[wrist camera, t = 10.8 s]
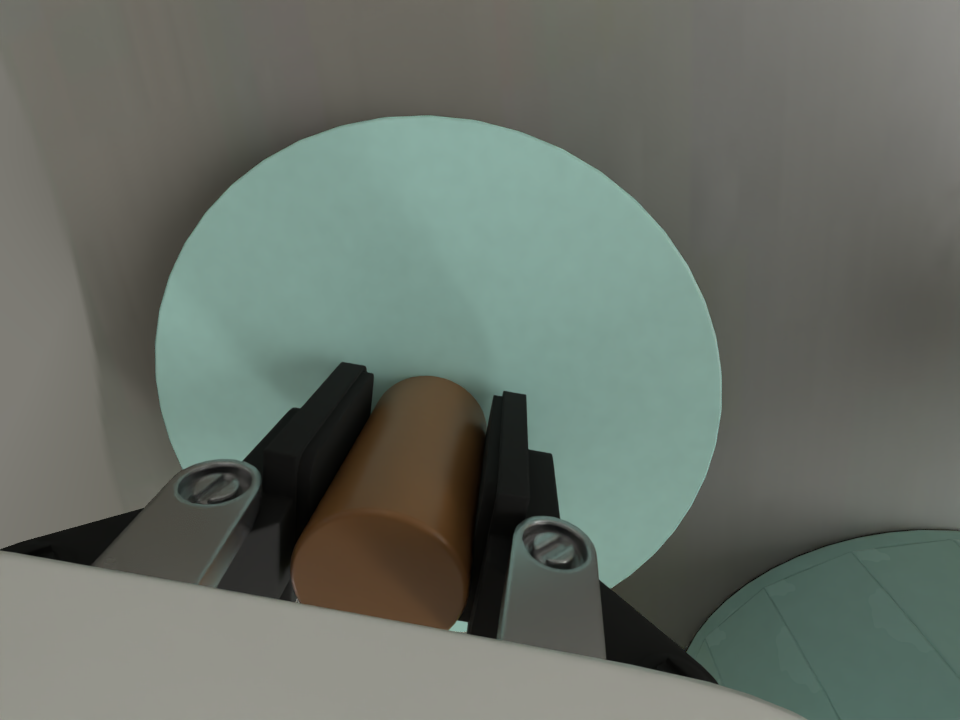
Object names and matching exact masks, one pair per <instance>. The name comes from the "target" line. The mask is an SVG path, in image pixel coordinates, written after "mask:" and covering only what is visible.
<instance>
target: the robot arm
mask: <svg viewBox="0 0 960 720" xmlns="http://www.w3.org/2000/svg"><path fill="white" fill-rule="evenodd" d="M373 383H374V374H373V373H369V372H367V368H366V366H364V365H358V364H352V363H347V362H341V363H340V364H339V365H338V366H337V368H336V369H335V370H334V371H333V372H332V373H331V374H330V375H329V377H328V378H327V379H326V380H325V381H324V382H323V383H322V385H321V386H320V387H319V388H318V389H317V390H316V391H315V392H314V394H313V395H312V396H311V397H310V398H309V399H308V400H307V402H306V403H305V404H304V405H303V406H302V407H301V408H296V407H293V408H291V409H290V410H289V411H288V412H287V413H286V414H285V415H284V416H283V417H282V418H281V420H280V421H279V422H278V423H277V424H276V425H275V426H274V427H273V428H272V429H271V430H270V431H269V433H268V434H267V435H266V436H265V437H264V438H263V439H262V440H261V441H260V442H259V443H258V445H257V446H256V447H255V448H254V449H253V450H252V451H251V452H250V453H249V454H248V455H247V456H246V458H245V459H244V460H243V461H239V460H235V459H216V460H208V461H204V462H201V463H197V464H194V465H192V466H189V467H187V468H185V469H183V470H181V471H180V472H179V473H178V474H176V475H175V476H174V477H173V478H172V479H171V480H170V481H169V482H168V483H167V484H166V485H165V486H164V487H163V488H162V489H161V491H160V492H159V493H158V494H157V495H156V496H155V497H154V498H153V499H152V500H151V501H150V502H149V503H148V505H147V506H146V507H145V508H142V509H139V510H135V511H132V512H128V513H124V514H121V515H118V516H114V517H110V518H106V519H103V520H100V521H96V522H92V523H88V524H85V525H81V526H78V527H74V528H70V529H66V530H63V531H59V532H56V533H52V534H49V535H45V536H41V537H37V538H34V539H31V540H27V541H23V542H20V543H17V544H15V545H11V546H8V547H6V548H3V549H0V720H808V719H806V718H804V717H802V716H800V715H798V714H796V713H794V712H793V711H790V710H788V709H785V708H783V707H780V706H778V705H775V704H773V703H770V702H768V701H765V700H763V699H760V698H758V697H755V696H753V695H750V694H747V693H744V692H741V691H737V690H734V689H731V688H727V687H724V686H721V685H719V684H718V683H717V681H716V680H715V678H714V677H713V676H712V675H711V674H710V673H709V672H708V671H707V670H706V669H705V668H704V667H703V666H702V665H701V664H700V663H698V662H697V661H696V660H695V659H694V658H692V657H691V656H690V655H689V654H688V653H686V652H685V651H684V650H683V649H682V648H680V647H679V646H678V645H677V644H676V643H674V642H673V641H672V640H671V639H670V638H668V637H667V636H666V635H665V634H664V633H662V632H661V631H660V630H659V629H658V628H656V627H655V626H654V625H653V624H652V623H650V622H649V621H648V620H647V619H646V618H645V617H643V616H642V615H641V614H640V613H639V612H637V611H636V610H635V609H634V608H633V607H631V606H630V605H629V604H628V603H627V602H625V601H624V600H623V599H622V598H621V597H619V596H618V595H617V594H616V593H615V592H613V591H612V590H611V589H610V588H609V587H607V586H606V585H605V584H604V583H603V582H601V581H600V580H599V573H598V562H597V553H596V550H595V546H594V544H593V543H592V541H591V540H590V538H589V537H588V535H586V534H585V533H584V532H583V531H582V530H581V529H580V528H578V527H577V526H575V525H573V524H571V523H569V522H568V521H565V520H562V519H560V512H559V504H558V496H557V487H556V479H555V470H554V462H553V456H552V454H551V453H546V452H541V451H535V450H530V449H528V427H527V400H526V395H525V394H520V393H514V392H509V391H503V394H502V396H497V395H494V396H493V400H492V405H491V410H490V415H489V421H488V426H487V431H486V437H485V445H484V454H483V462H482V471H481V479H480V488H479V496H478V505H477V514H476V522H475V531H474V539H473V548H472V554H473V560H472V569H471V578H470V587H469V596H468V600H467V603H466V607H465V609H464V611H463V613H462V614H461V616H460V617H459V619H458V621H463V622H468V625H467V634H465V633H460V632H454V631H449V630H444V629H438V628H433V627H427V626H422V625H417V624H411V623H406V622H400V621H395V620H389V619H384V618H378V617H373V616H367V615H362V614H356V613H351V612H345V611H340V610H334V609H329V608H323V607H318V606H312V605H307V604H301V603H296V602H295V601H296V599H297V597H296V594H295V592H294V589H293V586H292V582H291V574H290V563H291V556H292V552H293V549H294V546H295V545H296V543H297V541H298V539H299V537H300V535H301V533H302V532H303V530H304V528H305V527H306V525H307V523H308V521H309V520H310V518H311V516H312V515H313V513H314V511H315V509H316V508H317V506H318V504H319V503H320V501H321V499H322V497H323V496H324V494H325V492H326V490H327V489H328V487H329V485H330V484H331V482H332V480H333V478H334V477H335V475H336V473H337V472H338V470H339V468H340V466H341V465H342V463H343V461H344V459H345V458H346V456H347V454H348V453H349V451H350V449H351V447H352V446H353V444H354V442H355V441H356V439H357V437H358V435H359V434H360V432H361V430H362V429H363V427H364V425H365V423H366V422H367V420H368V418H369V416H370V415H371V405H372V394H373Z"/></svg>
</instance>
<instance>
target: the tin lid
mask: <svg viewBox="0 0 960 720" xmlns="http://www.w3.org/2000/svg"><path fill="white" fill-rule="evenodd" d="M341 362H347V363H352V364H358V365H364V366H366V368H367V372H369V373H373V374H374V383H373V394H372V405H371V415H370V416H369V418H368V420H367V422H366V423H365V425H364V427H363V429H362V430H361V432H360V434H359V435H358V437H357V439H356V441H355V442H354V444H353V446H352V447H351V449H350V451H349V453H348V454H347V456H346V458H345V459H344V461H343V463H342V465H341V466H340V468H339V470H338V472H337V473H336V475H335V477H334V478H333V480H332V482H331V484H330V485H329V487H328V489H327V490H326V492H325V494H324V496H323V497H322V499H321V501H320V503H319V504H318V506H317V508H316V509H315V511H314V513H313V515H312V516H311V518H310V520H309V521H308V523H307V525H306V527H305V528H304V530H303V532H302V533H301V535H300V537H299V539H298V541H297V543H296V545H295V546H294V549H293V552H292V556H291V563H290V574H291V582H292V586H293V589H294V592H295V594H296V597H297V598H298V600H299V602H300V603H301V604H307V605H312V606H318V607H323V608H329V609H334V610H340V611H345V612H351V613H356V614H362V615H367V616H373V617H378V618H384V619H389V620H395V621H400V622H406V623H411V624H417V625H422V626H427V627H433V628H438V629H444V630H449V631H454V632H466V631H467V625H468V622H463V621H458V619H459V617H460V616H461V614H462V613H463V611H464V609H465V607H466V603H467V600H468V596H469V587H470V578H471V569H472V560H473V554H472V548H473V539H474V531H475V522H476V514H477V505H478V496H479V488H480V479H481V471H482V462H483V454H484V445H485V437H486V431H487V426H488V421H489V415H490V410H491V405H492V400H493V396H494V395H497V396H502V394H503V391H509V392H514V393H520V394H525V395H526V400H527V427H528V449H530V450H535V451H541V452H546V453H551V454H552V456H553V462H554V470H555V479H556V487H557V496H558V504H559V512H560V519H562V520H565V521H568V522H569V523H571V524H573V525H575V526H577V527H578V528H580V529H581V530H582V531H583V532H584V533H585V534H586V535H588V537H589V538H590V540H591V541H592V543H593V544H594V546H595V550H596V553H597V562H598V573H599V580H600V581H601V582H603V583H604V584H605V585H606V586H607V587H609V588H610V589H611V588H612V587H614V586H615V585H617V584H618V583H620V582H621V581H622V580H624V579H625V578H627V577H628V576H630V575H631V574H632V573H633V572H635V571H636V570H637V569H638V568H639V567H640V566H641V565H643V564H644V563H645V562H646V561H647V560H648V559H649V558H650V557H652V556H653V555H654V554H655V553H656V552H657V550H658V549H659V548H660V547H661V546H662V545H663V544H664V542H665V541H666V540H667V539H668V538H669V537H670V536H671V535H672V533H673V532H674V531H675V530H676V528H677V527H678V525H679V524H680V522H681V521H682V519H683V518H684V516H685V515H686V513H687V512H688V510H689V509H690V507H691V506H692V504H693V502H694V500H695V498H696V496H697V494H698V491H699V489H700V487H701V485H702V483H703V481H704V479H705V477H706V474H707V471H708V468H709V465H710V462H711V459H712V455H713V452H714V449H715V446H716V441H717V435H718V429H719V423H720V416H721V410H722V372H721V365H720V358H719V351H718V344H717V338H716V334H715V331H714V328H713V325H712V321H711V318H710V315H709V312H708V308H707V305H706V302H705V299H704V297H703V295H702V293H701V291H700V289H699V287H698V285H697V283H696V281H695V279H694V277H693V275H692V272H691V270H690V268H689V266H688V265H687V263H686V262H685V260H684V259H683V257H682V256H681V254H680V253H679V251H678V250H677V248H676V247H675V245H674V244H673V243H672V241H671V240H670V238H669V237H668V235H667V234H666V232H665V231H664V230H663V229H662V228H661V227H660V225H659V224H658V223H657V222H656V221H655V220H654V219H653V218H652V217H651V216H650V215H649V214H648V212H647V211H646V210H645V209H644V208H643V207H642V206H641V205H640V204H639V203H638V202H637V201H636V200H635V199H634V198H633V197H632V196H631V195H629V194H628V193H627V192H626V191H624V190H623V189H622V188H621V187H619V186H618V185H617V184H616V183H614V182H613V181H612V180H611V179H609V178H608V177H607V176H606V175H605V174H603V173H602V172H601V171H599V170H597V169H596V168H594V167H592V166H591V165H589V164H587V163H585V162H584V161H582V160H580V159H579V158H577V157H575V156H574V155H572V154H570V153H569V152H567V151H565V150H564V149H562V148H559V147H557V146H554V145H552V144H550V143H547V142H545V141H542V140H540V139H537V138H535V137H533V136H530V135H528V134H525V133H523V132H520V131H517V130H513V129H509V128H505V127H501V126H497V125H493V124H489V123H485V122H481V121H477V120H471V119H462V118H452V117H442V116H433V115H422V116H398V117H382V118H377V119H372V120H367V121H361V122H356V123H351V124H346V125H341V126H338V127H335V128H332V129H330V130H327V131H324V132H321V133H318V134H316V135H313V136H310V137H307V138H304V139H302V140H299V141H297V142H296V143H294V144H292V145H290V146H288V147H286V148H285V149H283V150H281V151H279V152H277V153H275V154H274V155H272V156H270V157H268V158H266V159H264V160H263V161H262V162H260V163H259V164H258V165H256V166H255V167H254V168H252V169H251V170H250V171H249V172H247V173H246V174H245V175H243V176H242V177H241V178H239V179H238V180H237V181H236V182H234V183H233V184H232V185H231V186H230V187H229V188H228V189H227V190H226V191H225V192H224V193H223V194H222V195H221V196H220V198H219V199H218V200H217V201H216V202H215V203H214V204H213V205H212V206H211V207H210V208H209V209H208V210H207V211H206V212H205V214H204V215H203V217H202V218H201V220H200V221H199V223H198V224H197V226H196V227H195V229H194V230H193V232H192V233H191V235H190V236H189V237H188V239H187V240H186V242H185V243H184V245H183V248H182V250H181V252H180V254H179V256H178V258H177V260H176V263H175V265H174V267H173V269H172V271H171V273H170V275H169V278H168V282H167V285H166V289H165V292H164V296H163V299H162V302H161V306H160V309H159V316H158V324H157V332H156V339H155V377H156V384H157V390H158V397H159V403H160V409H161V413H162V416H163V420H164V423H165V426H166V430H167V433H168V436H169V440H170V442H171V445H172V447H173V449H174V451H175V454H176V456H177V458H178V461H179V463H180V465H181V467H182V470H183V469H185V468H187V467H189V466H192V465H194V464H197V463H201V462H204V461H208V460H216V459H235V460H239V461H243V460H244V459H245V458H246V456H247V455H248V454H249V453H250V452H251V451H252V450H253V449H254V448H255V447H256V446H257V445H258V443H259V442H260V441H261V440H262V439H263V438H264V437H265V436H266V435H267V434H268V433H269V431H270V430H271V429H272V428H273V427H274V426H275V425H276V424H277V423H278V422H279V421H280V420H281V418H282V417H283V416H284V415H285V414H286V413H287V412H288V411H289V410H290V409H291V408H293V407H296V408H301V407H302V406H303V405H304V404H305V403H306V402H307V400H308V399H309V398H310V397H311V396H312V395H313V394H314V392H315V391H316V390H317V389H318V388H319V387H320V386H321V385H322V383H323V382H324V381H325V380H326V379H327V378H328V377H329V375H330V374H331V373H332V372H333V371H334V370H335V369H336V368H337V366H338V365H339V364H340V363H341Z"/></svg>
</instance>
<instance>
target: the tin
mask: <svg viewBox="0 0 960 720" xmlns="http://www.w3.org/2000/svg"><path fill="white" fill-rule="evenodd" d="M686 653H688V654H689V655H690V656H691V657H692V658H694V659H695V660H696V661H697V662H698V663H700V664H701V665H702V666H703V667H704V668H705V669H706V670H707V671H708V672H709V673H710V674H711V675H712V676H713V677H714V678H715V680H716V681H717V683H718V684H719V685H721V686H724V687H727V688H731V689H734V690H737V691H741V692H744V693H747V694H750V695H753V696H755V697H758V698H760V699H763V700H765V701H768V702H770V703H773V704H775V705H778V706H780V707H783V708H785V709H788V710H790V711H793V712H794V713H796V714H798V715H800V716H802V717H804V718H806V719H808V720H960V531H950V530H914V531H901V532H889V533H883V534H877V535H871V536H865V537H860V538H855V539H851V540H848V541H844V542H840V543H836V544H833V545H829V546H826V547H823V548H820V549H817V550H815V551H812V552H809V553H807V554H804V555H801V556H798V557H796V558H794V559H792V560H790V561H788V562H786V563H784V564H782V565H780V566H777V567H775V568H773V569H771V570H770V571H768V572H766V573H765V574H763V575H761V576H760V577H758V578H757V579H755V580H753V581H752V582H750V583H748V584H747V585H746V586H744V587H743V588H742V589H740V590H739V591H738V592H737V593H735V594H734V595H733V596H731V597H730V598H729V599H727V600H726V601H725V602H724V603H723V604H722V605H721V606H720V607H719V608H718V609H717V610H716V611H715V612H714V613H713V614H712V615H711V616H710V617H709V619H708V620H707V621H706V622H705V624H704V625H703V626H702V628H701V629H700V630H699V631H698V633H697V634H696V636H695V638H694V639H693V641H692V643H691V645H690V646H689V648H688V650H687V652H686Z"/></svg>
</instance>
